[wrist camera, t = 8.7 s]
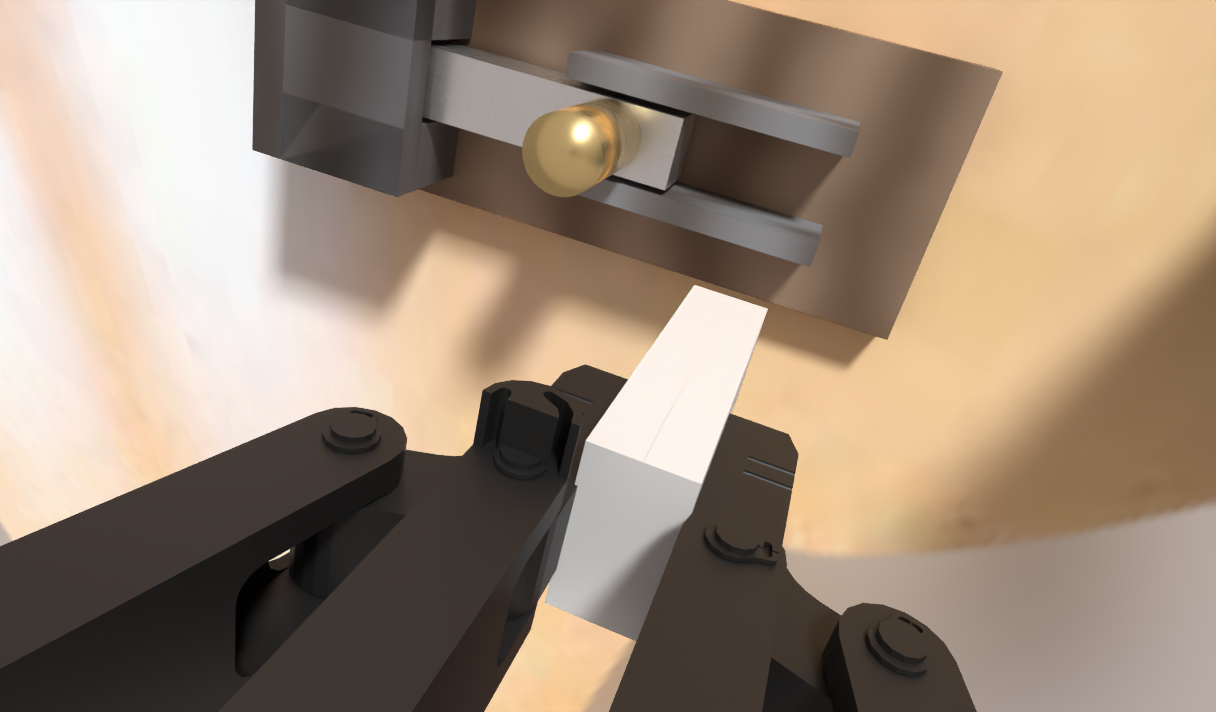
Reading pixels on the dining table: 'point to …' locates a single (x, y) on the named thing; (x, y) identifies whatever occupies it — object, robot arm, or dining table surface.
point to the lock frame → (668, 75)
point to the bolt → (556, 120)
